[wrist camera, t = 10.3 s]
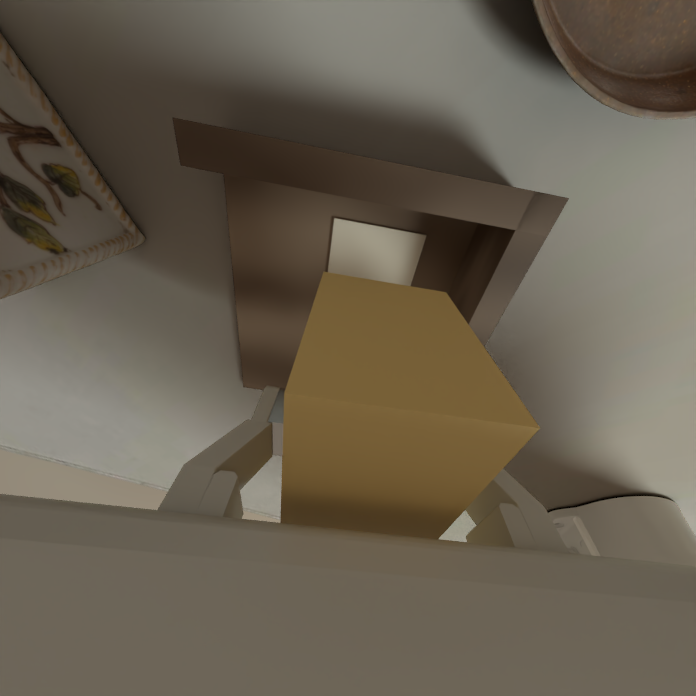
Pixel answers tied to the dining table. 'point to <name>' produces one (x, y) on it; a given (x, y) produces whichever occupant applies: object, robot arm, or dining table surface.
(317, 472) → the ochre block
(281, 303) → the corner arena
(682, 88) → the plant saucer
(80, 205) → the decorative jar
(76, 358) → the dining table surface
